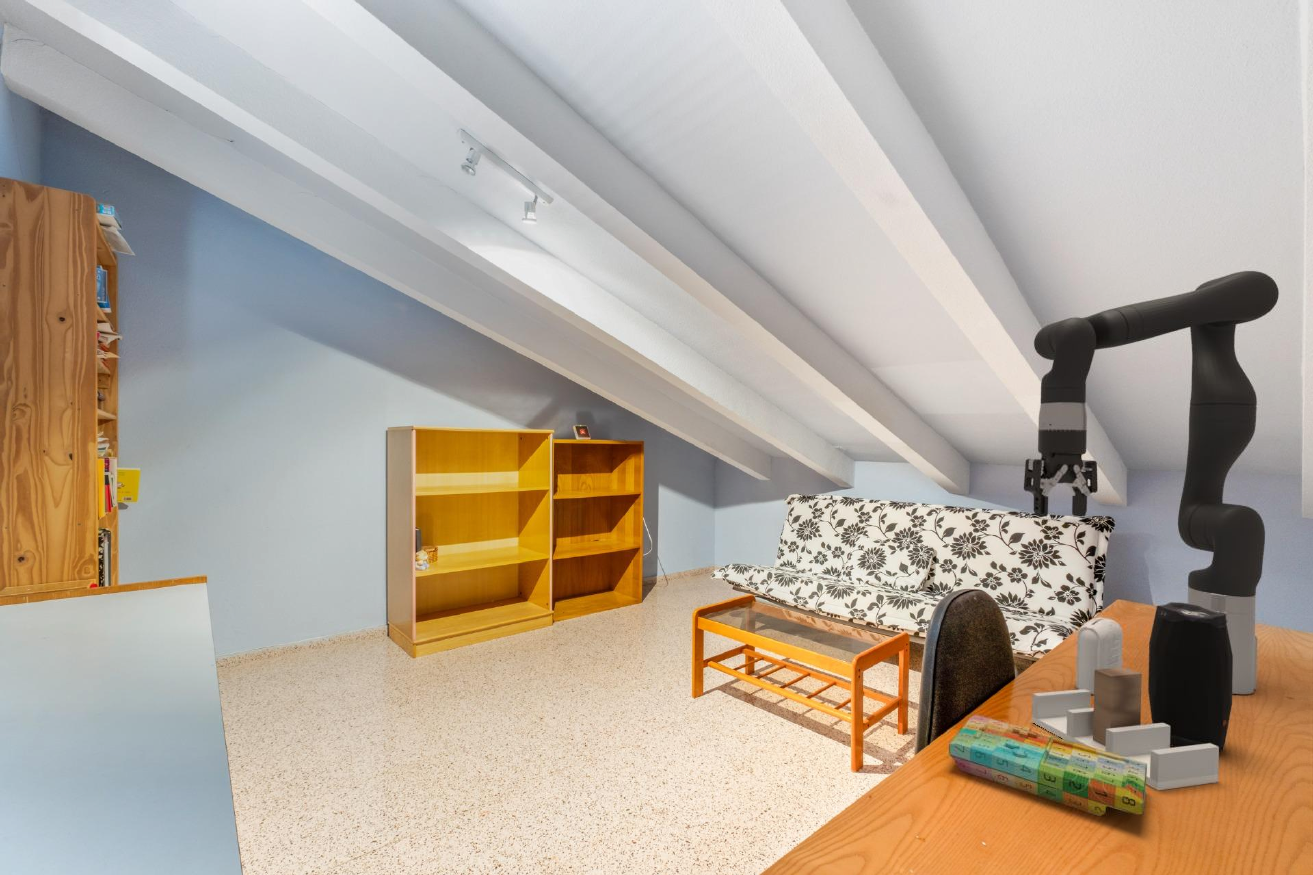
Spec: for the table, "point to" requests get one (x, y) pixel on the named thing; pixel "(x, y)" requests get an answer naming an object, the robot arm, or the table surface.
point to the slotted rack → (1128, 741)
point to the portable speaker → (1190, 674)
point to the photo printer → (1097, 650)
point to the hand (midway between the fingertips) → (1060, 516)
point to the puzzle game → (1050, 766)
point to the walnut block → (1115, 700)
